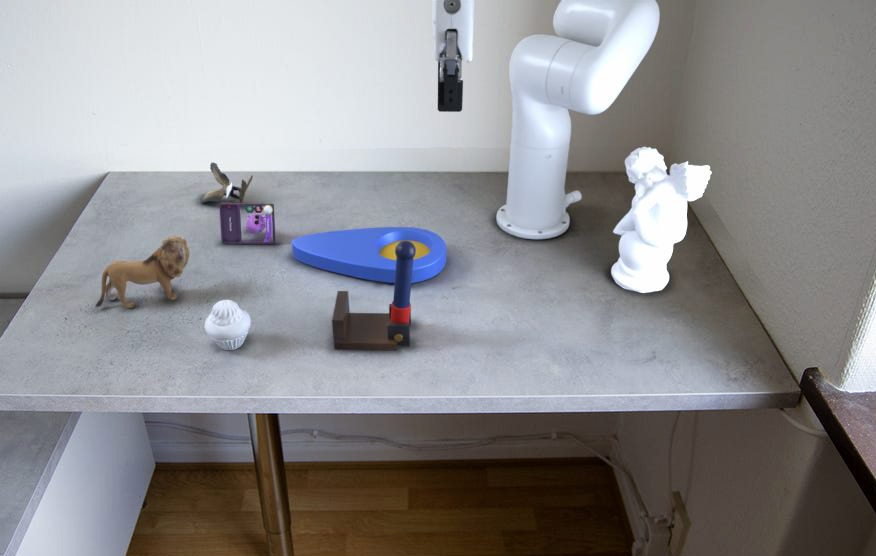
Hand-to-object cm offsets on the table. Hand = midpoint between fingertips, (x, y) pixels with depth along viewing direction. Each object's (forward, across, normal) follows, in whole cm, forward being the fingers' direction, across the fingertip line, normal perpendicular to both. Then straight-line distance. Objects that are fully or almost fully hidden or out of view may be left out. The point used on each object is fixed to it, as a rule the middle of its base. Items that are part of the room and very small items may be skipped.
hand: (449, 97), depth 105 cm
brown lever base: (+28, -16, +10) cm, 34 cm away
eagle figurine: (+28, +24, +40) cm, 55 cm away
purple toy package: (+28, +10, +33) cm, 45 cm away
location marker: (+28, +3, +12) cm, 31 cm away
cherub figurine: (+28, -1, -32) cm, 43 cm away
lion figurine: (+28, -7, +45) cm, 53 cm away
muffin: (+28, -19, +30) cm, 45 cm away
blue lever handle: (+20, -16, +5) cm, 26 cm away
